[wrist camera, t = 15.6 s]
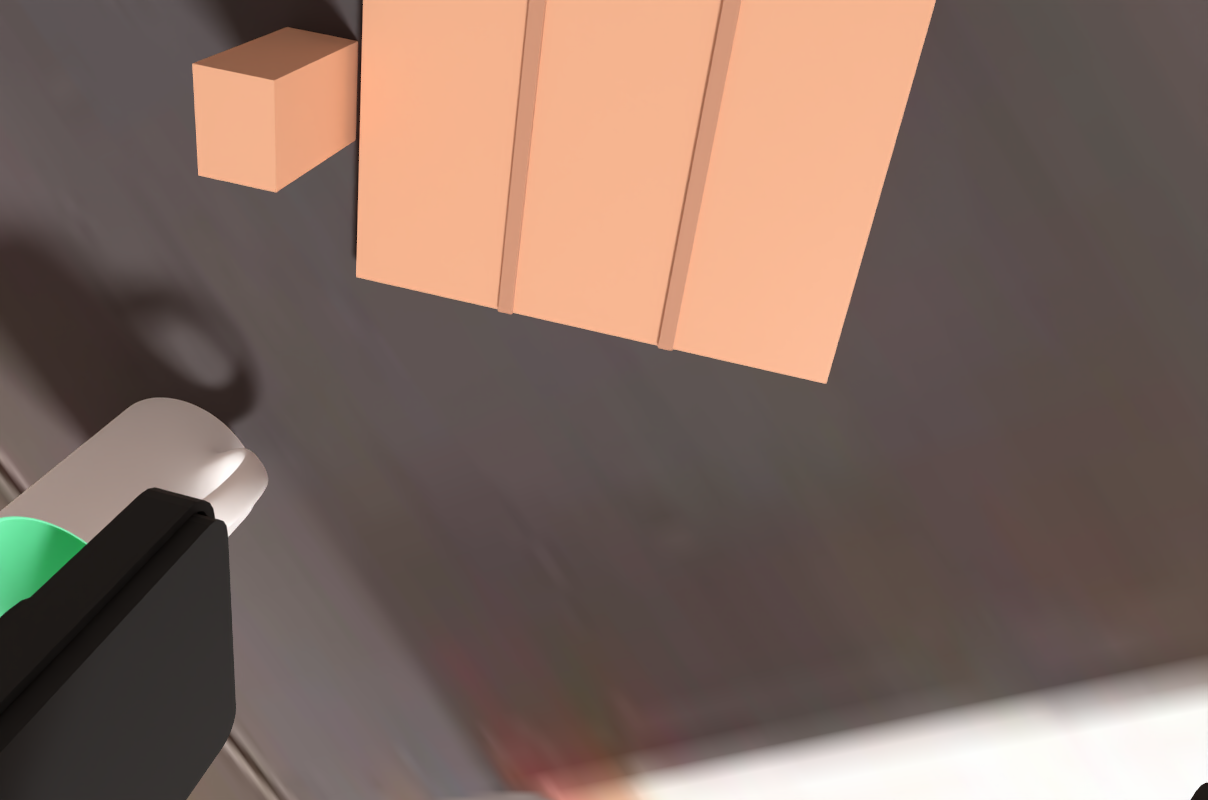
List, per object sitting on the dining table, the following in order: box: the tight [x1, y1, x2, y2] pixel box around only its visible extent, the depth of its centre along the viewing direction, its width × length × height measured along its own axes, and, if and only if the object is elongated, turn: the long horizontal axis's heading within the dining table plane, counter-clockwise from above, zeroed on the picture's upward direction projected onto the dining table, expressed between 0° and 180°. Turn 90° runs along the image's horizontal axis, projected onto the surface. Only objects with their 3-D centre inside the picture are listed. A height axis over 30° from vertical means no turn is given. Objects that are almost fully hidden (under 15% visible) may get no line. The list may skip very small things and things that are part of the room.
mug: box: [0, 398, 268, 617], centre depth 50 cm, size 12×8×10 cm
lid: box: [192, 0, 936, 384], centre depth 39 cm, size 24×16×7 cm, turn 82°
